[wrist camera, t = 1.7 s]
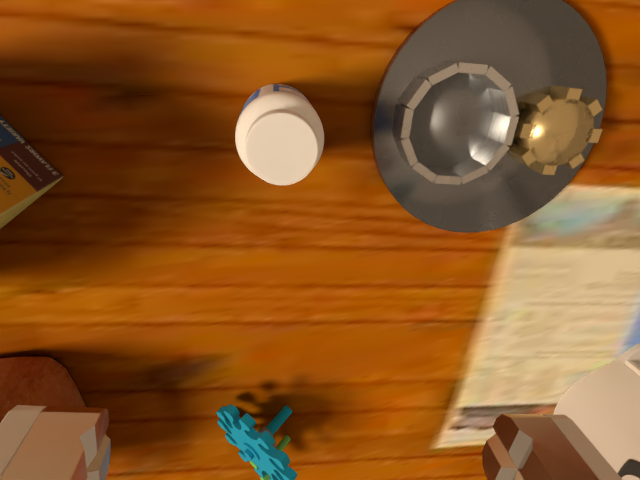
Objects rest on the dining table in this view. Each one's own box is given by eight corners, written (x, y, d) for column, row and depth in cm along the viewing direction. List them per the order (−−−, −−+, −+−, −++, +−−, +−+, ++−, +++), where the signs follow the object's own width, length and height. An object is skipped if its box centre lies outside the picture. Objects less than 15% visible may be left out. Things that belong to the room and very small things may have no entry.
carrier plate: (632, 2, 30) (677, -3, 26) (552, 230, 37) (579, 248, 34) (389, -25, 28) (405, -35, 24) (357, 222, 35) (366, 241, 32)
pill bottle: (257, 165, 32) (250, 211, 24) (230, 97, 30) (211, 118, 21) (324, 143, 32) (341, 180, 23) (302, 72, 30) (312, 83, 21)
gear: (201, 397, 39) (280, 462, 33) (247, 355, 42) (324, 408, 37) (224, 456, 45) (293, 518, 40) (262, 415, 49) (329, 467, 44)
